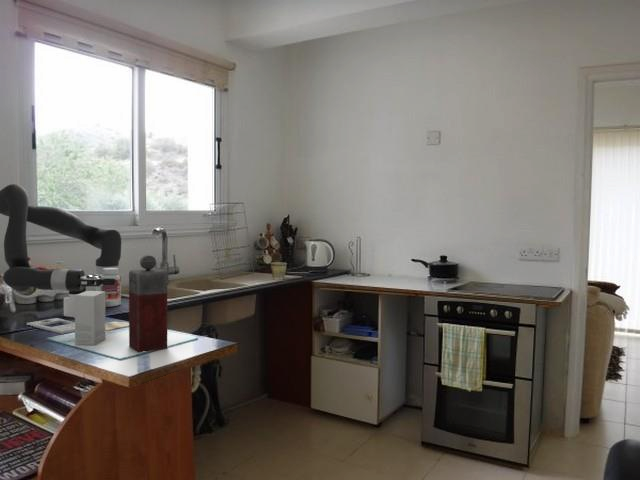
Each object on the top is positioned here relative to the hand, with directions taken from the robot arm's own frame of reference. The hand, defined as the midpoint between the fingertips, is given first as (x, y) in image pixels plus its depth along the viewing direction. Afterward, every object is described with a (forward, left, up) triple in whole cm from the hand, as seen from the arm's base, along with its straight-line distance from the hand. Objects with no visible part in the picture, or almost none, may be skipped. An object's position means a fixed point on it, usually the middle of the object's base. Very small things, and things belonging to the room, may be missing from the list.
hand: (117, 280), depth 184 cm
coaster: (+1, -2, -16) cm, 17 cm away
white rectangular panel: (+12, -16, -16) cm, 26 cm away
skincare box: (+18, +12, -17) cm, 28 cm away
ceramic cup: (-142, -37, -17) cm, 147 cm away
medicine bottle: (-3, -29, -17) cm, 33 cm away
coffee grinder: (+11, +30, -17) cm, 36 cm away
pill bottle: (+2, -2, -7) cm, 8 cm away
